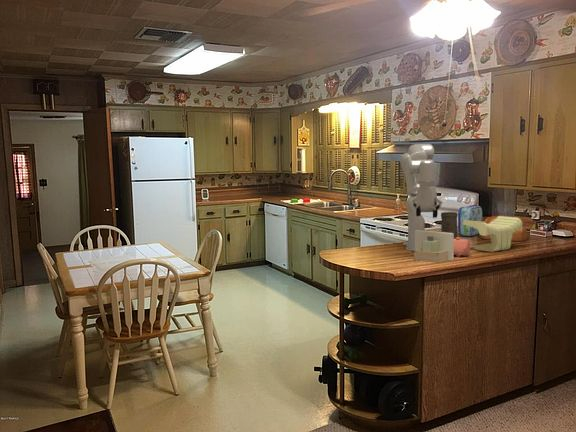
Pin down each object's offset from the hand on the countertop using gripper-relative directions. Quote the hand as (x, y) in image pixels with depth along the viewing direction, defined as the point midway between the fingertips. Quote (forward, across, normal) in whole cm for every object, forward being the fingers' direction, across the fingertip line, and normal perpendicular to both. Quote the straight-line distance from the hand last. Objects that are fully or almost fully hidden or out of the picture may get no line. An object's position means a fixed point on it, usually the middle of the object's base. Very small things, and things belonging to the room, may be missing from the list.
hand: (426, 216), depth 254 cm
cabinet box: (+18, +3, -1) cm, 19 cm away
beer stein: (+25, -17, +55) cm, 63 cm away
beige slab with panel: (+23, +2, 0) cm, 23 cm away
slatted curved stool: (+24, +15, +47) cm, 55 cm away
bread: (+26, +4, +88) cm, 92 cm away
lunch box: (+26, -22, +94) cm, 100 cm away
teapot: (+23, +9, +18) cm, 30 cm away
